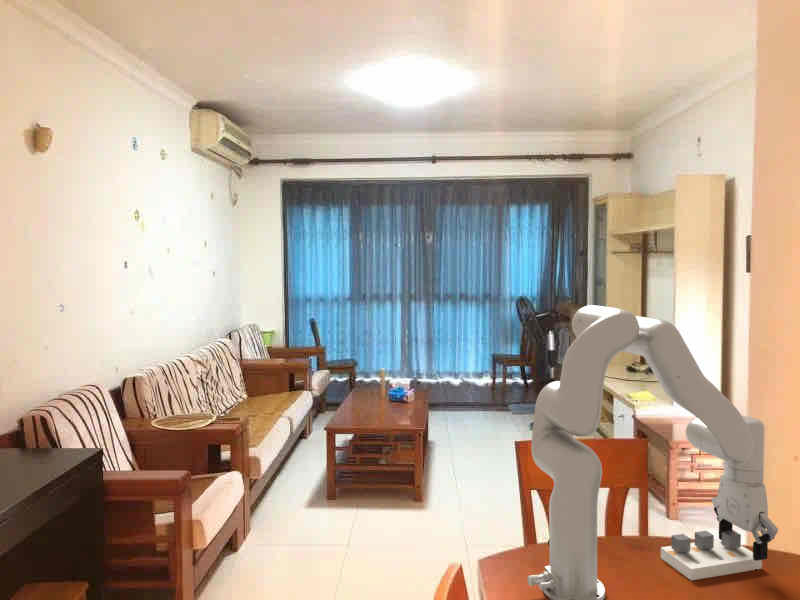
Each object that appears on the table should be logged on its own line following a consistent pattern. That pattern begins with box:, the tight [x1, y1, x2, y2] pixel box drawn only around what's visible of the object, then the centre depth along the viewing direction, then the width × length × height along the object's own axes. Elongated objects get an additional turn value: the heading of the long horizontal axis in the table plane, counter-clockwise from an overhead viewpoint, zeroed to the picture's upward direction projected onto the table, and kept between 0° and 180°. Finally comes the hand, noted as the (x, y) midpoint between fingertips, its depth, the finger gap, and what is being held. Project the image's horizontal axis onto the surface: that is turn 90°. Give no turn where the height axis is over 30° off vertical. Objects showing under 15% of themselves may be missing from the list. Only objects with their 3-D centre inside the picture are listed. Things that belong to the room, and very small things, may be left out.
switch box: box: [660, 538, 763, 581], centre depth 136 cm, size 18×10×3 cm, turn 103°
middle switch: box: [694, 530, 715, 550], centre depth 137 cm, size 3×2×3 cm
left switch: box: [670, 533, 691, 553], centre depth 136 cm, size 3×2×3 cm
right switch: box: [721, 529, 742, 549], centre depth 137 cm, size 3×2×3 cm
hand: (742, 548), depth 134 cm, fingers open, 9 cm apart
